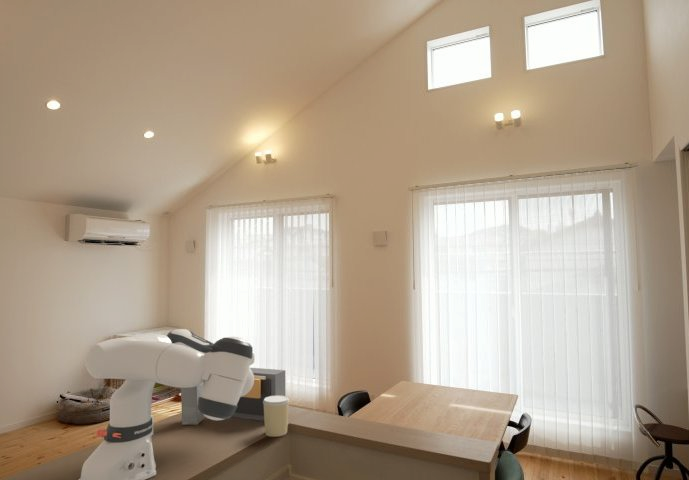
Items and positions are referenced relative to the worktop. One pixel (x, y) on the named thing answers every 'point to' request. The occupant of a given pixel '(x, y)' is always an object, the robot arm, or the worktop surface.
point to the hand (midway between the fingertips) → (238, 352)
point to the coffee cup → (276, 415)
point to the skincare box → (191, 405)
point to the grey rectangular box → (269, 387)
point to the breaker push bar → (255, 390)
